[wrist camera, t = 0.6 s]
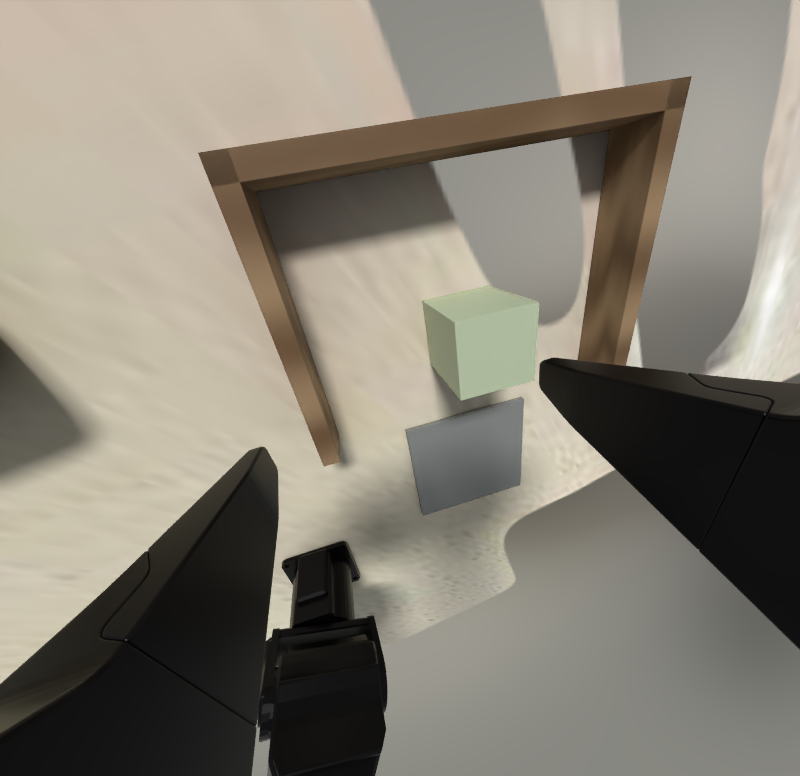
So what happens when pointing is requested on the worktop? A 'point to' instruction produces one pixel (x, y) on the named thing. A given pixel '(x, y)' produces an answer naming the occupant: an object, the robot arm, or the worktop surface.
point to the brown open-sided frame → (452, 137)
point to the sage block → (482, 339)
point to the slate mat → (467, 455)
